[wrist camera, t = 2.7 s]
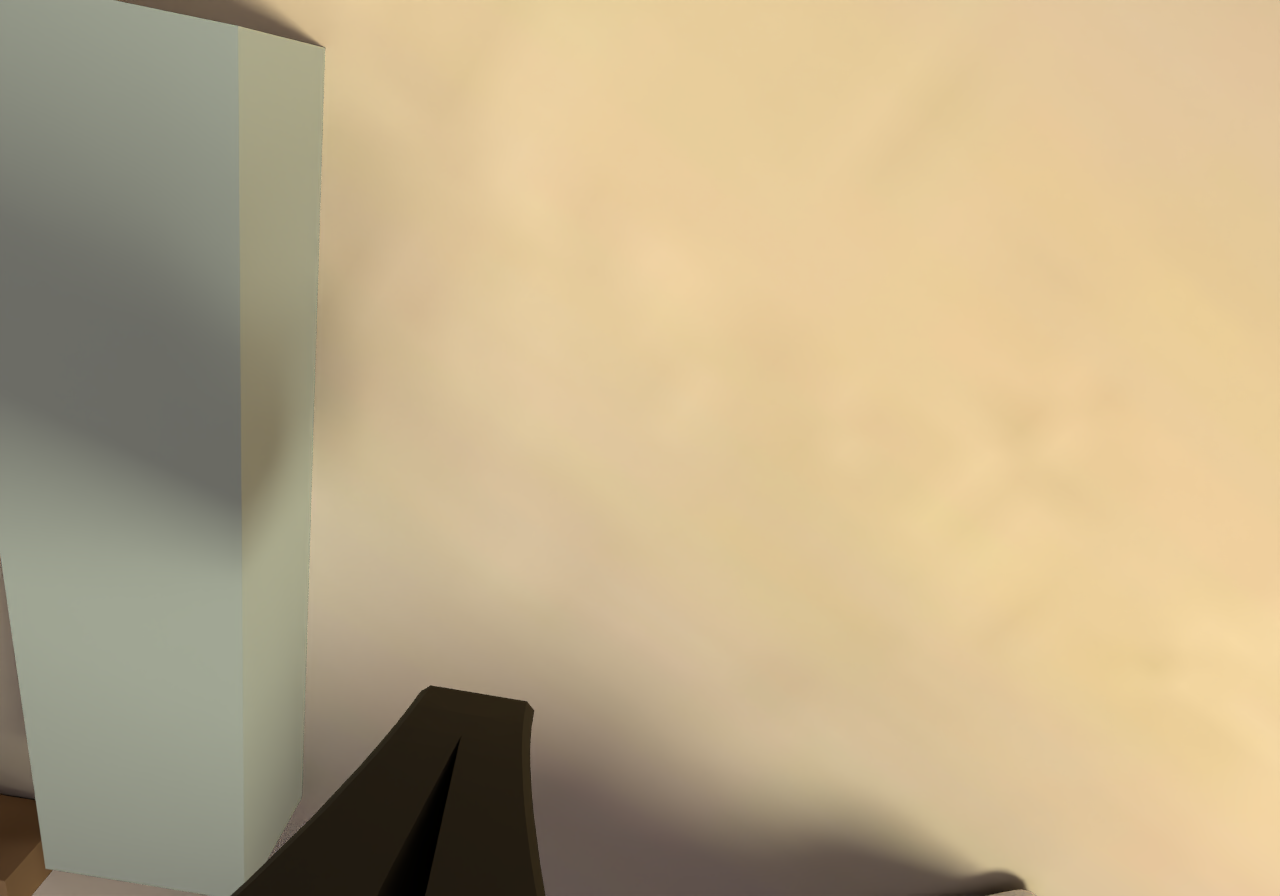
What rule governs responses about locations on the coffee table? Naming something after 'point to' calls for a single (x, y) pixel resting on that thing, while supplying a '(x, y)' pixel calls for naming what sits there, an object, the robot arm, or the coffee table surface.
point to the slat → (158, 429)
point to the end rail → (20, 847)
